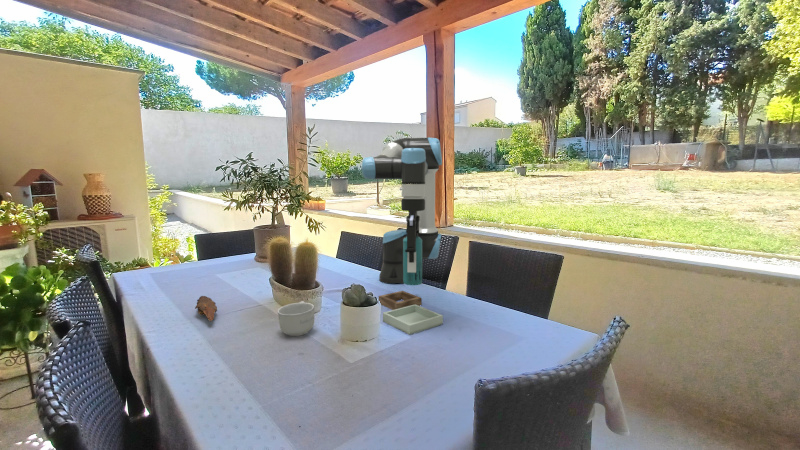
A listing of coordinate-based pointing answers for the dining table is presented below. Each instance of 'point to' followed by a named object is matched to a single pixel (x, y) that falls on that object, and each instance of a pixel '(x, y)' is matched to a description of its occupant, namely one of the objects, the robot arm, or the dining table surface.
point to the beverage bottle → (411, 277)
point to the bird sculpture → (206, 307)
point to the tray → (412, 319)
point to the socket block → (392, 299)
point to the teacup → (296, 318)
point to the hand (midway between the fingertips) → (412, 269)
